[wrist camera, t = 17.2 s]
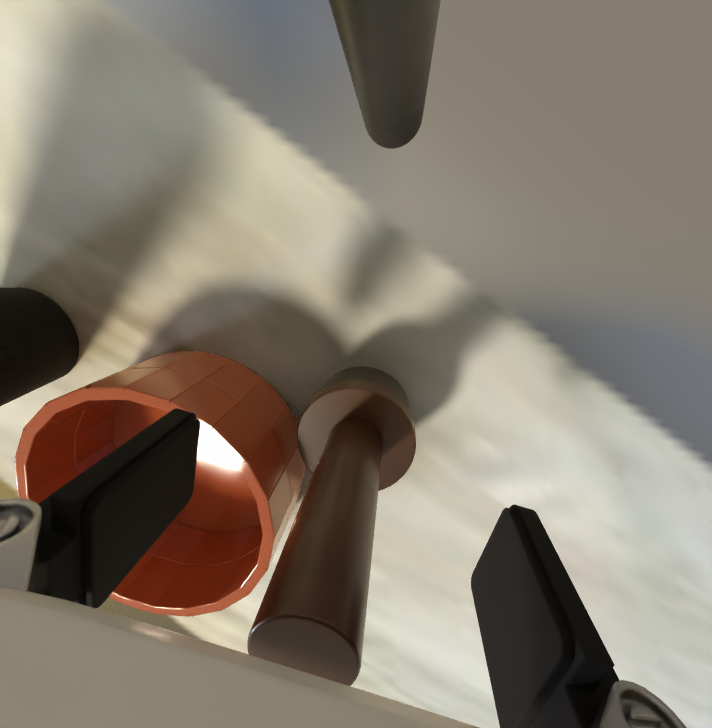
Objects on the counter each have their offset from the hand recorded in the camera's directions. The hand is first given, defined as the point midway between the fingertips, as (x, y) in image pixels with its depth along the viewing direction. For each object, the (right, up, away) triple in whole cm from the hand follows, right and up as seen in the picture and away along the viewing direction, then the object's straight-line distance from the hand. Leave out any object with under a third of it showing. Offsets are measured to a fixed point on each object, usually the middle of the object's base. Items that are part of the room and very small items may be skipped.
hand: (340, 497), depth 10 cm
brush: (+1, +2, +7) cm, 7 cm away
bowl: (-8, -1, +8) cm, 11 cm away
